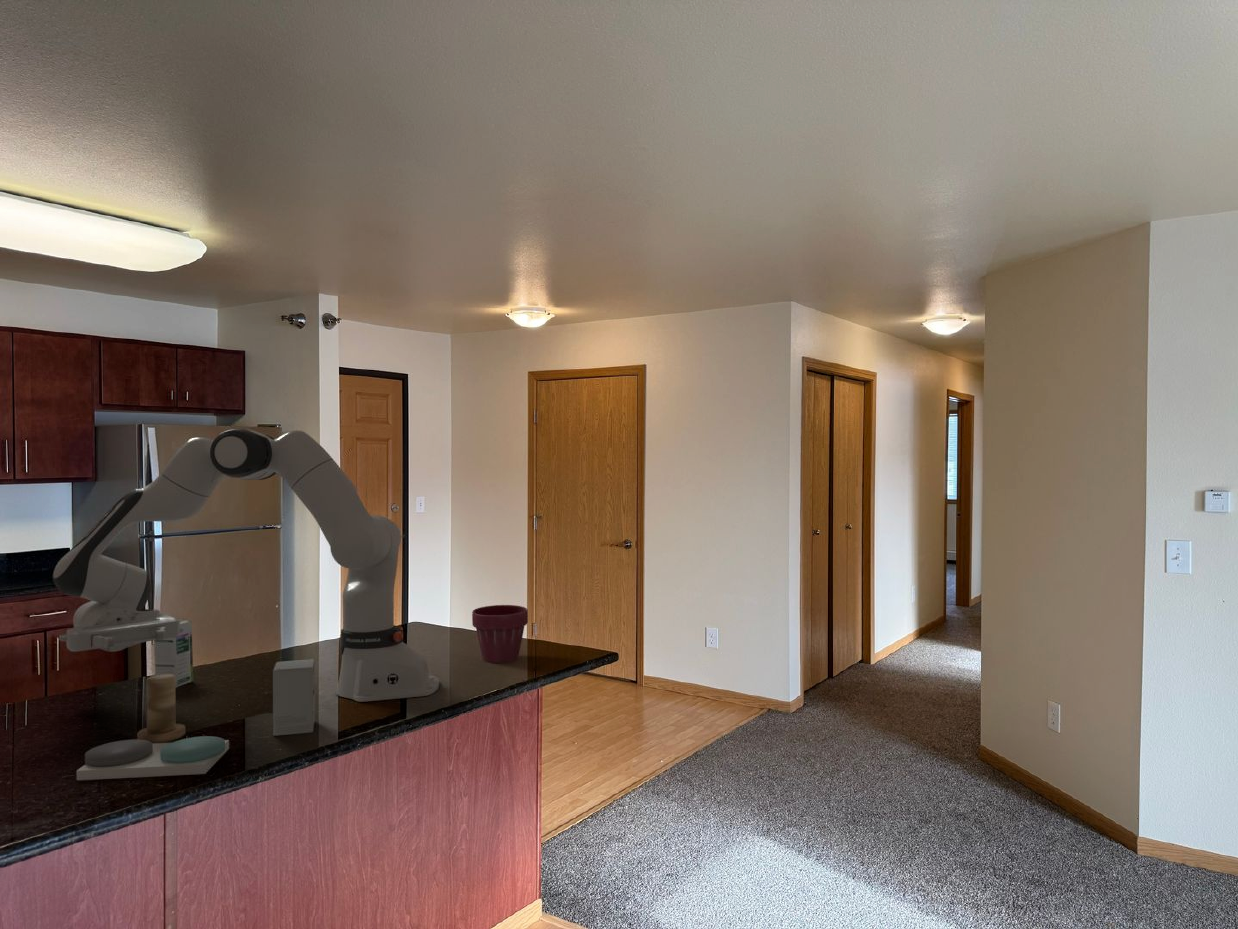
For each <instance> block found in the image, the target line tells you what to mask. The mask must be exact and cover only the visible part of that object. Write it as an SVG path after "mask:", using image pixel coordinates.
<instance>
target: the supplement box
mask: <svg viewBox="0 0 1238 929" xmlns="http://www.w3.org/2000/svg"><path fill="white" fill-rule="evenodd" d="M315 662H316V661H315V658H311V659H297V660H285V661H276V662H275V663H274V666H273V670H272V727H273V730H272V736H274V737H275V736H277V737H278V736H288V735H298V734H308V733H310V734H311V733H313V732H314V726H315V721H316V690H315V689H316V681H315V680H316V678H315V677H316V675H315V674H316V673H315V672H316V671H315V668H316V667H315V665H316V664H315Z"/></svg>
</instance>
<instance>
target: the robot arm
mask: <svg viewBox="0 0 1238 929" xmlns="http://www.w3.org/2000/svg"><path fill="white" fill-rule="evenodd" d="M276 474H277V475H278V476H280V477H281V479H283V481H284V482H286V484H287V485H288V486H289V487H290V489H291V491H292V492H293V493H295V495H296V497H298V499H299V500H300V501H301V502H302V504H303V506H305V507H306V509H307V510H308V512H310V514H311V515H312V517H313V518H314V519H315V522H317V525H318V526H319V528H320V530H321V532H322V533H323V537H324V538H325V540H326V542H327V543H328V545H329V547H330V549H329V550H330V553H331V556H332V558H333V560H334V561H335V562H336V563H337V564H338V565H339V566H341V567H343V568H345V569H348V571H347V575H346V582H345V586H344V589H343V592H342V628H341V630H340V634H339V644H340V648H339V649H340V654H341V665H340V672H339V678H338V682H337V687H336V689H335V694H336V695H337V696H339V697H342V698H347V699H351V700H354V701H356V702H359V703H362V702H374V701H375V702H376V701H384V700H395V699H406V698H408V699H409V698H414V697H415V698H416V697H417V698H418V697H426V696H430V695H432V694H434V693H435V692H436V691H438V689H439V687H440V681H439V680H440V679H439V678H438V677H437V676H435V675H430V669H429V665H428V661H427V660H426V658H425V656H423V655H422V654H421V653H420V652H418V651H416V650H415V649H414V648H412V647H410V645H408V644H406V643H405V642H404V630H403V627H399V626H397V625H396V624H395V620H394V618H395V617H394V616H395V615H394V613H395V609H394V608H395V606H394V605H395V604H394V602H395V599H394V598H395V595H394V593H395V584H396V583H395V582H396V576H397V570H398V568H397V567H398V560H399V550H400V544H401V541H402V539H401V538H402V537H401V530H400V528H399V527H398V524H396V523H395V522H394V521H393V520H392V519H390V518H388V517H386V516H383V515H371V514H370V513H369V511H368V509H366V507H365V504H363V502H362V500H361V498H360V496H359V493H358V491H357V487H356V486H355V484H354V483H353V482H352V480H351V479H350V478H349V477H348V475H346V473H345V472H344V471H343V469H342V468H341V467H340V466H339V464H337V462H336V461H335V460H334V459H333V457H332V455H330V454H329V453H328V451H326V449H325V448H324V447H323V446H322V445H321V444H320V443H319V442H317V441H316V440H315V439H314V438H313V437H312V436H311V435H310V434H308V433H307V432H305V431H303V430H298V429H297V430H291V431H288V432H285V433H283V434H282V435H280V436H279V437H277V438H273V437H272V436H270V435H267V434H264V433H262V432H259V431H256V430H252V429H243V428H233V429H228V430H225V431H223V432H221V433H220V434H219V435H217V436H216V437H215V438H214V440H213V439H211V438H206V437H201V436H200V437H199V436H197V437H192V438H190V439H188V440H187V441H186V442H185V443H183V444H182V446H180V448H179V449H178V450H177V451H176V452H175V453H174V455H173V456H172V457H171V459H170V460H169V461H168V462H167V463H166V465H165V467H164V468H163V469H162V470H161V472H160V473H159V475H158V476H157V477H156V478H155V479H154V480H153V481H152V482H150V483H149V484H147V485H145V486H144V487H141V488H133V489H131V490H130V491H128V492H127V493H125V495H123V496H122V497H121V498H120V499H119V500H118V501H117V502H115V504H114V505H113V506H111V508H110V509H109V510H108V511H107V512H106V513H105V514H104V515H103V517H101V519H100V520H98V522H97V523H96V524H94V526H93V527H92V528H91V530H89V531H88V532H87V534H85V535H84V537H83V538H82V539H80V541H79V542H78V543H76V545H74V546H73V547H71V549H70V550H68V551H67V552H66V553H65V554H64V556H62V557H61V559H60V560H59V561H58V562H57V564H56V566H55V568H54V569H53V573H52V580H53V583H54V585H55V586H56V588H57V590H58V592H60V594H62V595H66V596H72V597H75V598H82V599H86V600H89V601H88V602H86V603H84V604H82V605H80V606H79V607H78V608H77V609H76V610H75V612H74V613H73V614H74V615H73V618H72V623H73V627H72V628H69V629H67V630H66V632H65V634H59V636H58V639H59V641H61V642H66V648H67V650H69V651H70V652H73V653H74V652H83V651H90V650H96V649H101V650H103V651H105V652H118V651H123V650H125V649H127V648H129V647H130V648H131V647H133V646H136V645H139V644H142V643H146V642H147V643H148V642H154V640H164V639H168V638H175V637H178V636H179V634H180V622H179V620H180V619H178V618H177V617H175V616H172V615H169V614H166V613H161V610H160V609H156V608H154V609H152V608H145V606H146V604H147V603H148V600H149V598H150V597H151V596H150V595H151V593H152V582H151V577H150V575H149V572H148V571H147V570H146V569H145V568H142V567H139V566H136V565H133V564H130V563H128V562H125V561H124V562H123V561H120V560H117V559H115V558H111V557H109V556H106V555H103V554H102V553H103V552H104V551H105V550H106V549H107V548H108V547H109V546H110V545H111V544H112V542H113V541H114V540H115V539H116V538H117V537H118V536H119V535H120V534H121V533H122V532H123V530H125V529H126V528H128V526H131V525H133V524H134V525H135V524H136V523H137V524H138V523H144V522H162V523H163V522H165V523H173V522H174V523H177V522H181V521H185V520H189V519H190V518H193V517H194V516H196V515H197V514H198V513H199V512H200V511H201V510H202V509H203V508H204V506H205V505H206V503H207V501H208V500H209V498H210V497H211V495H212V493H213V492H214V490H215V489H216V487H217V486H218V484H219V483H220V482H221V481H222V480H223V479H224V478H226V477H230V478H233V479H234V478H237V479H240V480H244V481H263V480H267V479H269V478H271V477H273V476H274V475H276ZM144 608H145V609H144Z"/></svg>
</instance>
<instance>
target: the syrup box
mask: <svg viewBox="0 0 1238 929" xmlns="http://www.w3.org/2000/svg"><path fill="white" fill-rule="evenodd" d="M178 620H179V622H180V634H179V636H178V637H175V638H168V639H164V640H154V641H153V650H154V652H153V654H154V656H153V657H154V676H156V675H163V674H172V675H175V689H177V688H180V687H182V686H183V685H187V684H190V683H192V682H194V664H193V662H194V660H193V654H194V652H193V629H192V628H193V627H192V625H193V624H192V621H191V620H187V619H178Z"/></svg>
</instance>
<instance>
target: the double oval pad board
mask: <svg viewBox="0 0 1238 929" xmlns="http://www.w3.org/2000/svg"><path fill="white" fill-rule="evenodd" d="M229 749H230V740H229V739H224V738H222V737H218V736H215V735H214V736H211V735H210V736H207V735H206V736H205V735H204V736H193V737H192V736H191V737H187V738H182V739H179V740H178V739H177V740H174V741H173V742H172V741H171V742H164V743H154V744H152V742H150V741H147V740H137V739H124V740H117V741H112V742H111V741H110V742H108V743H104V744H101V745H98V746H94V747H92V748H91V749H89V750H87V751H86V752H85V754H84V765H83V766H81V767H80V768H78V769H77V770H76V781H92V780H93V781H94V780H95V781H96V780H109V779H111V780H112V779H127V778H128V779H129V778H131V779H132V778H151V777H152V778H153V777H167V776H168V777H172V776H184V775H185V776H189V775H205V774H207V773H208V772H209V771H210V770H211V768H213V767H214V765H215V764H216V763H217V762H218V761H219V760H220V759H221V758H222V757H223V756H224V755H225V754H226V753H227V751H228V750H229Z"/></svg>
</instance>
